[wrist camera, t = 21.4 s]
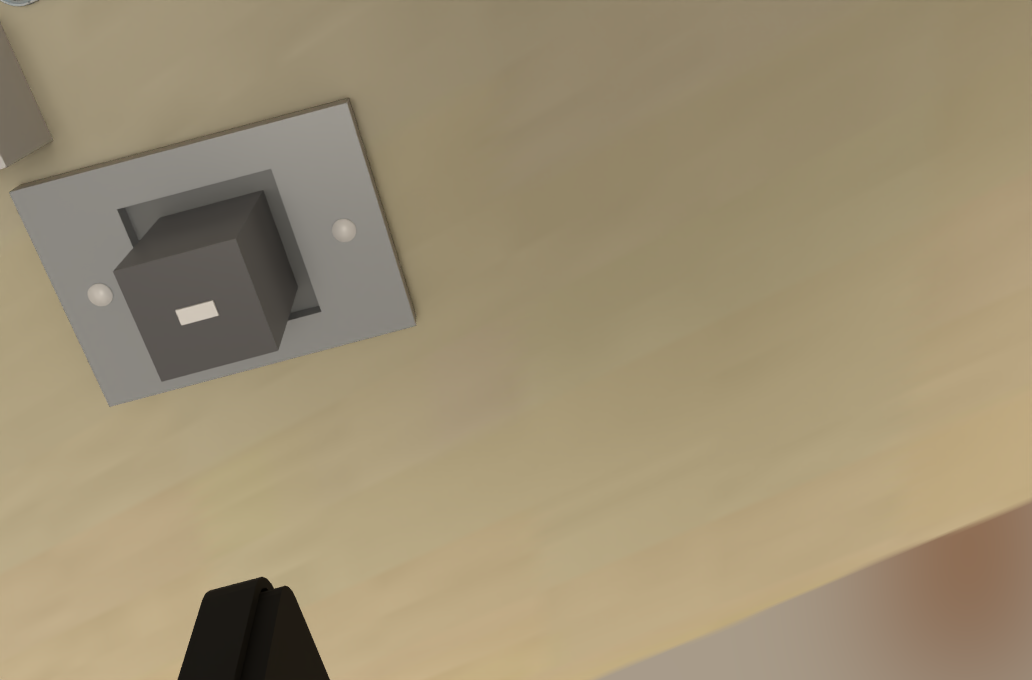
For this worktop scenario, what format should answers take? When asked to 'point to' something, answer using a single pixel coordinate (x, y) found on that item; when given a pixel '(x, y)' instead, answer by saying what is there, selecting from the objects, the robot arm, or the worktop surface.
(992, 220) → the worktop surface
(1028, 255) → the worktop surface
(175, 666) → the worktop surface
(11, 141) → the cable plug
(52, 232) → the outlet plate
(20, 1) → the smartphone
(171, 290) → the block
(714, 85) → the worktop surface
